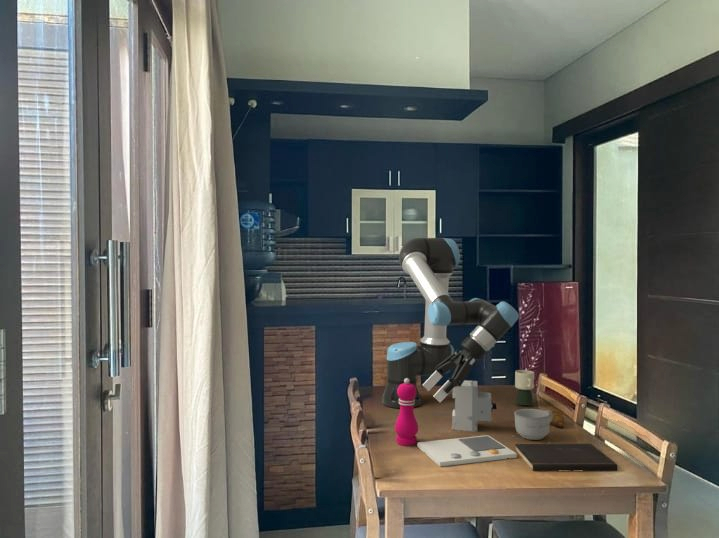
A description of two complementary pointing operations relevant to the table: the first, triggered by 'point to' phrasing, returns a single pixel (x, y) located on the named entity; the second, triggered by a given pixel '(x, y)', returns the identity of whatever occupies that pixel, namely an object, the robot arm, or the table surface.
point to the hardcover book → (565, 457)
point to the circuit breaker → (470, 406)
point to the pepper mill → (406, 415)
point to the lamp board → (465, 450)
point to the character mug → (524, 387)
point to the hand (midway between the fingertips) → (430, 393)
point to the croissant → (557, 418)
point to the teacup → (532, 423)
